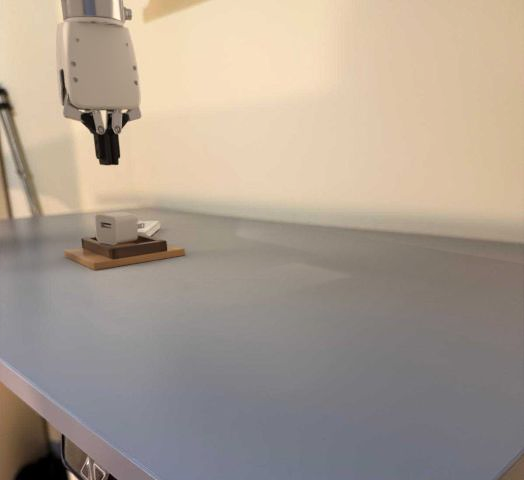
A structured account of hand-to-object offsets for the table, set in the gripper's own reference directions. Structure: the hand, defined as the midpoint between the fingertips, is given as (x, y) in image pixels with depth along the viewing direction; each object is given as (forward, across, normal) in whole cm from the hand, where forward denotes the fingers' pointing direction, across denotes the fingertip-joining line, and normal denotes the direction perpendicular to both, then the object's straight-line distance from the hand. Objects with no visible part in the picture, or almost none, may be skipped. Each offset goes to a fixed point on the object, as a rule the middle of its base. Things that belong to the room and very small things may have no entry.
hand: (109, 164), depth 76 cm
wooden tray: (+13, -1, +1) cm, 13 cm away
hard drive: (+13, -10, -16) cm, 23 cm away
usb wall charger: (+11, -1, +1) cm, 11 cm away
